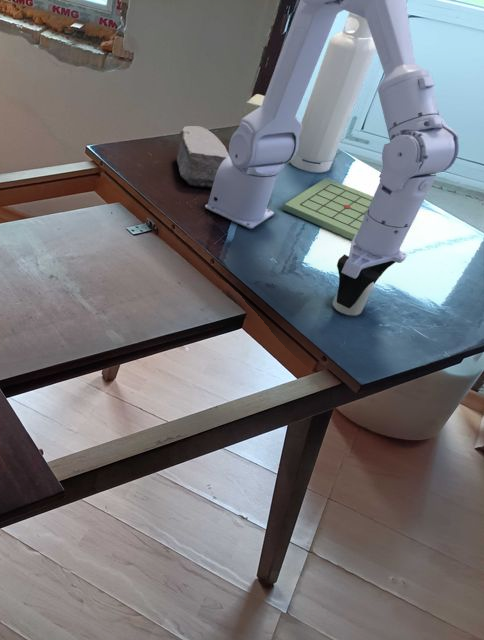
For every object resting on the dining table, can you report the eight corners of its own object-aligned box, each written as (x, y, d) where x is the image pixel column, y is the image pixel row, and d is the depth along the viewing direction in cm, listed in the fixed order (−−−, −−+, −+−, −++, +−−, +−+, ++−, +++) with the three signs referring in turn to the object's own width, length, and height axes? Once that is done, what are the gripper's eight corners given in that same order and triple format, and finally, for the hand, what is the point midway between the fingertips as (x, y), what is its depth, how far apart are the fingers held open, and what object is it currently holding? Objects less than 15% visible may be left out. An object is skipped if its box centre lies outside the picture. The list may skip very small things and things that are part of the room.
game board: (282, 209, 122) (284, 203, 121) (323, 183, 131) (325, 176, 130) (368, 247, 114) (371, 240, 113) (406, 216, 123) (409, 210, 122)
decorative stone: (196, 197, 124) (241, 187, 127) (203, 162, 120) (250, 152, 123) (153, 162, 135) (196, 154, 138) (158, 128, 130) (202, 121, 133)
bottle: (339, 169, 136) (398, 19, 118) (307, 174, 134) (363, 22, 115) (311, 152, 142) (364, 5, 123) (280, 156, 139) (329, 8, 121)
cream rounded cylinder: (327, 305, 101) (342, 271, 97) (339, 294, 103) (355, 261, 99) (354, 319, 99) (371, 285, 95) (366, 307, 101) (383, 273, 97)
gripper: (397, 248, 85) (355, 332, 94) (439, 210, 93) (397, 291, 102) (343, 225, 89) (308, 308, 98) (389, 191, 97) (352, 270, 106)
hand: (350, 298), depth 100 cm, fingers closed on cream rounded cylinder, 4 cm apart
